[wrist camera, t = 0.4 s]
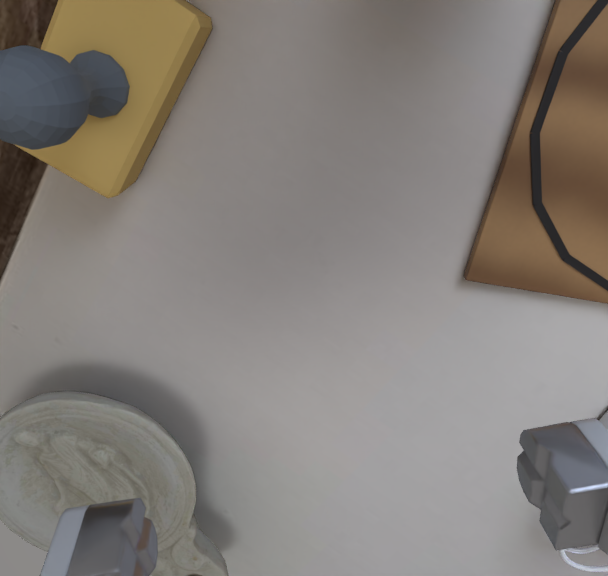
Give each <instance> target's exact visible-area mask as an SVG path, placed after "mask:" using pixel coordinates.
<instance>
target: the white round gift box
mask: <svg viewBox="0 0 608 576" xmlns="http://www.w3.org/2000/svg"><path fill="white" fill-rule="evenodd" d="M599 421H600V422H601V424H602V425H603V426H604V427H605V428H606V430H607V431H608V410H607V411H606V413H605V414H604V415H603V416H602V417H601V419H600V420H599ZM599 549H600V548H599V547H598V544H597V545H593V546H590V547H586V548H570V549H563V550H559V553H560V555H561V557H562V559H563V560H564V561H565V562H566V563H567V564H569V565H570V566H572V567H574V568H577V569H579V570H584V571H589V572H604V571H608V565H605V566H586V565H581V564H578V563H575V562H573V561H572V560H570V559H569V558H568V557H567V556H566V554H565V551H567V552H570V553H576V554H586V553H591V552H594V551H597V550H599Z"/></svg>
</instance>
